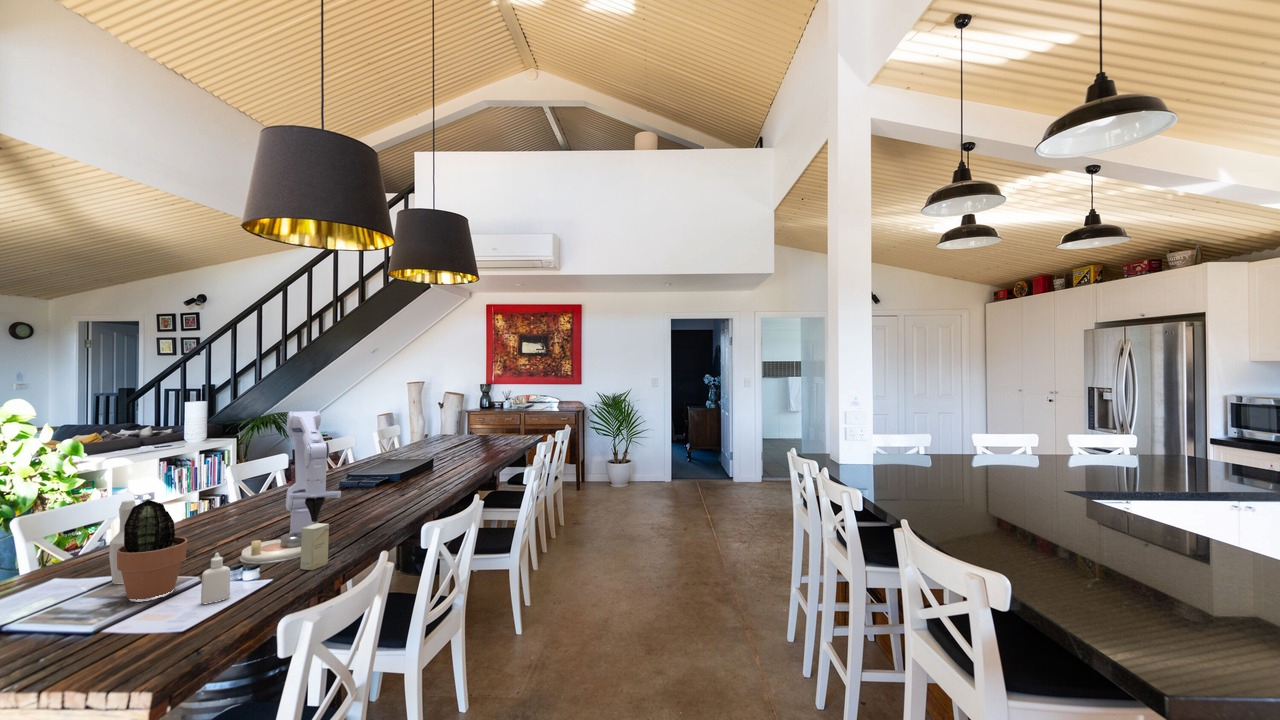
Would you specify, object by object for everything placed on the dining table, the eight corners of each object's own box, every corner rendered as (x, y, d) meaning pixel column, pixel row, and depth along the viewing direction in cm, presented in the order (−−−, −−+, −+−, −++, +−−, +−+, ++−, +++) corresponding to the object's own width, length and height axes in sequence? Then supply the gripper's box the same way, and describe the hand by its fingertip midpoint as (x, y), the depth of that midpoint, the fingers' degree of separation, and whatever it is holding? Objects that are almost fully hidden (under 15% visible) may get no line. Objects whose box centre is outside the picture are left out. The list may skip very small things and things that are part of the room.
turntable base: (244, 549, 177) (244, 547, 177) (312, 541, 187) (312, 540, 187) (234, 568, 161) (234, 566, 161) (309, 558, 170) (309, 556, 170)
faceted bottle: (120, 587, 146) (124, 504, 146) (102, 584, 147) (105, 502, 147) (146, 578, 152) (149, 499, 152) (128, 576, 153) (131, 497, 154)
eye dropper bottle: (205, 598, 139) (207, 551, 140) (231, 596, 141) (233, 549, 141) (198, 605, 135) (200, 556, 135) (225, 602, 137) (227, 554, 137)
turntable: (226, 558, 166) (227, 540, 167) (276, 541, 184) (276, 524, 184) (276, 563, 163) (277, 545, 163) (322, 545, 181) (323, 528, 181)
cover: (274, 547, 173) (275, 537, 173) (292, 540, 180) (293, 531, 180) (293, 549, 172) (294, 539, 172) (311, 542, 179) (311, 533, 179)
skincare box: (312, 570, 160) (313, 529, 160) (299, 569, 161) (300, 528, 161) (328, 563, 166) (329, 523, 166) (316, 562, 167) (317, 522, 167)
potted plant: (194, 592, 143) (198, 496, 144) (126, 611, 131) (130, 507, 132) (172, 581, 150) (176, 490, 151) (105, 598, 138) (110, 499, 139)
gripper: (287, 482, 172) (285, 525, 172) (338, 480, 177) (337, 522, 177) (292, 478, 179) (291, 520, 179) (342, 476, 184) (341, 516, 184)
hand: (314, 520), depth 178 cm, fingers closed
